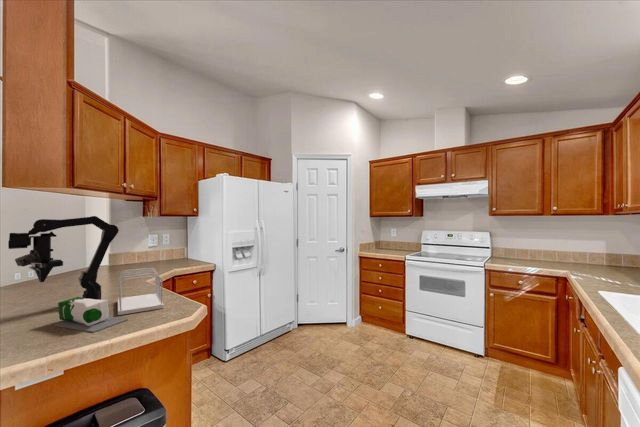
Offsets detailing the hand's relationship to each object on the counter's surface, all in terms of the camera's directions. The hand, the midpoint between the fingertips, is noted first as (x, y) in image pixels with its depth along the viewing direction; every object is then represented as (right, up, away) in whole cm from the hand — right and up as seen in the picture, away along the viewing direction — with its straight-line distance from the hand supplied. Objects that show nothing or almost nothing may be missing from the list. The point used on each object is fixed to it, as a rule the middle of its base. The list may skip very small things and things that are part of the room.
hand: (41, 282), depth 129 cm
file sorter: (+38, -13, +9) cm, 42 cm away
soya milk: (+21, -8, -10) cm, 25 cm away
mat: (+34, -13, -14) cm, 39 cm away
